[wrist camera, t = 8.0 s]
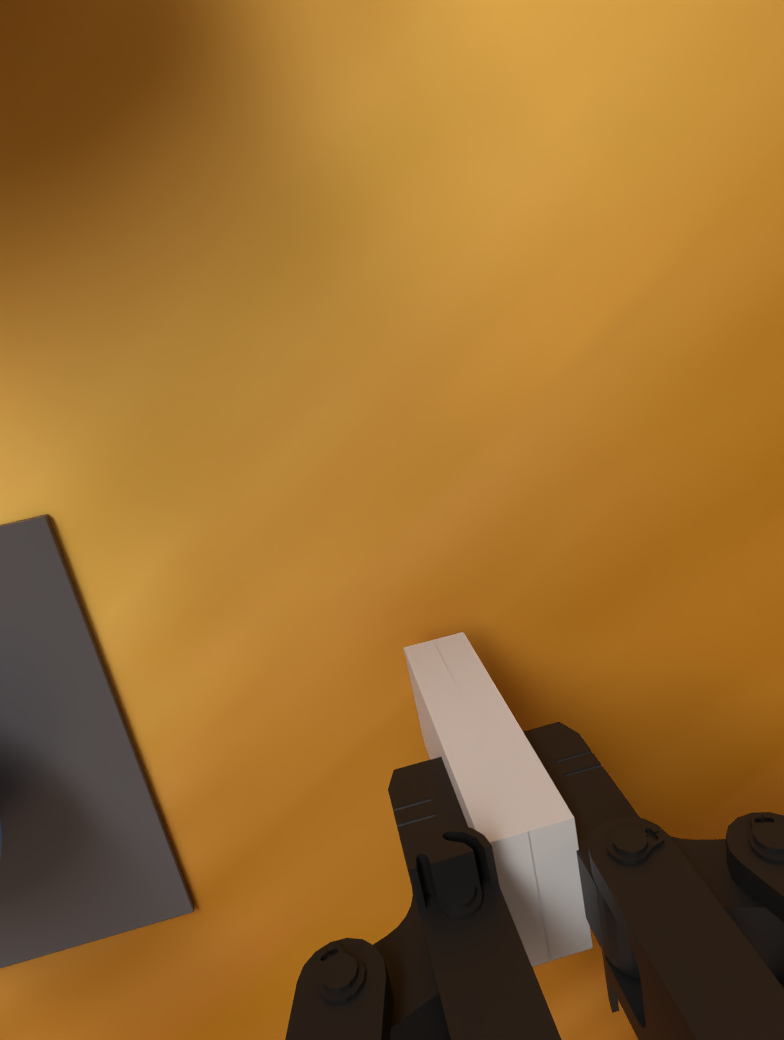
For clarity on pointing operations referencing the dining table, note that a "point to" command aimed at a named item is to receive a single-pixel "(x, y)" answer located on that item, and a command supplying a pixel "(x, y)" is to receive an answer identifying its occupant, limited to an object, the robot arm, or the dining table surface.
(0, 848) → the ball
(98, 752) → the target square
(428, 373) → the dining table surface
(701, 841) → the robot arm
